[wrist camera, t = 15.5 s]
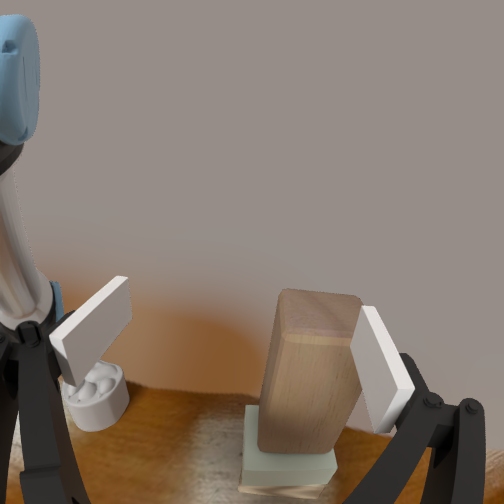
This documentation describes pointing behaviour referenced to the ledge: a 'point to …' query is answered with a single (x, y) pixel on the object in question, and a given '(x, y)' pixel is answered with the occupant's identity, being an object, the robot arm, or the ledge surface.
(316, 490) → the tower bottom
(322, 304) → the block
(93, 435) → the ledge surface
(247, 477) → the tower top
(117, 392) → the lumpy-topped squat cylinder
